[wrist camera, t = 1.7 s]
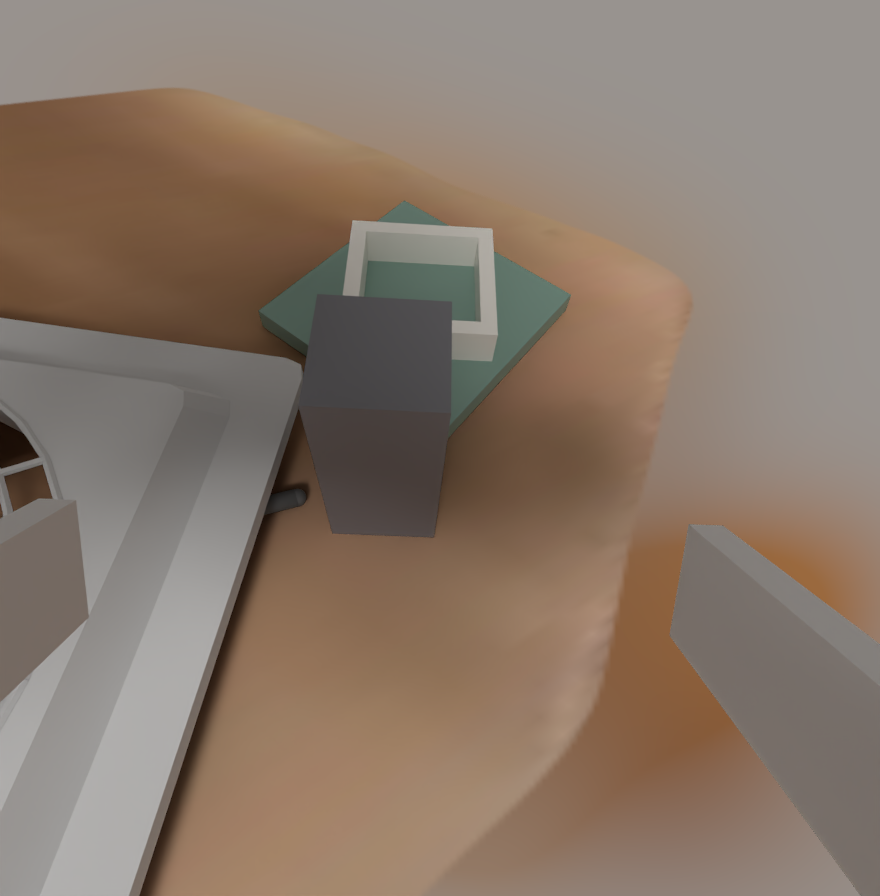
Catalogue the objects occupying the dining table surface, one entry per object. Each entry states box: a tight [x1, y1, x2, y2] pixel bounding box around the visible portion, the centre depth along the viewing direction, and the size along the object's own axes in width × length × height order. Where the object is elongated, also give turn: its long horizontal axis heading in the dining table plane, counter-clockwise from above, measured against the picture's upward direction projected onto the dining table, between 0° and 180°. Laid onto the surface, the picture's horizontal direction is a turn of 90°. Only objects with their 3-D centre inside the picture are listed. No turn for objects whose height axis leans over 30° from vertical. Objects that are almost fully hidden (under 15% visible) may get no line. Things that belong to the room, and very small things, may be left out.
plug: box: [298, 294, 452, 537], centre depth 23 cm, size 4×5×10 cm
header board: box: [259, 201, 571, 438], centre depth 31 cm, size 12×12×3 cm
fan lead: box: [264, 489, 306, 515], centre depth 25 cm, size 9×1×1 cm, turn 108°
